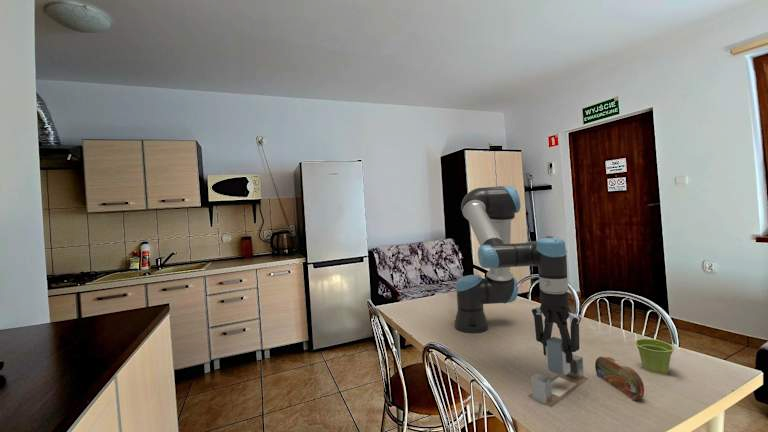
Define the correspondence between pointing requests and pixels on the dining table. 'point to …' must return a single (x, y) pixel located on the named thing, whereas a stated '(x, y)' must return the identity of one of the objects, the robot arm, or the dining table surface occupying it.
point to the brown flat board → (562, 387)
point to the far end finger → (576, 367)
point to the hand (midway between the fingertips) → (558, 369)
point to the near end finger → (541, 388)
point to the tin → (620, 377)
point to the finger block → (555, 355)
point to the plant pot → (655, 355)
